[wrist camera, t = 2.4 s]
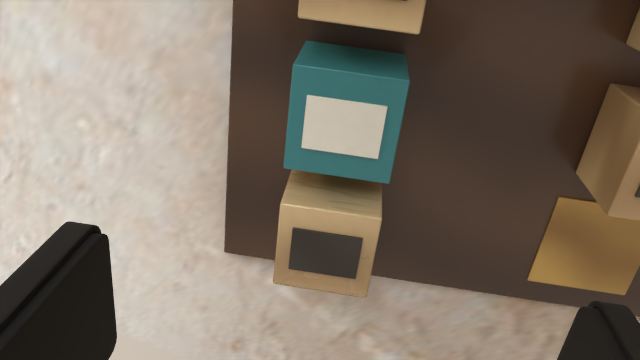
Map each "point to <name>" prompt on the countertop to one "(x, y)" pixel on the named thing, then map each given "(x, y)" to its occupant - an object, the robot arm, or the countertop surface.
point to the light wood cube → (367, 13)
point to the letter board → (459, 144)
